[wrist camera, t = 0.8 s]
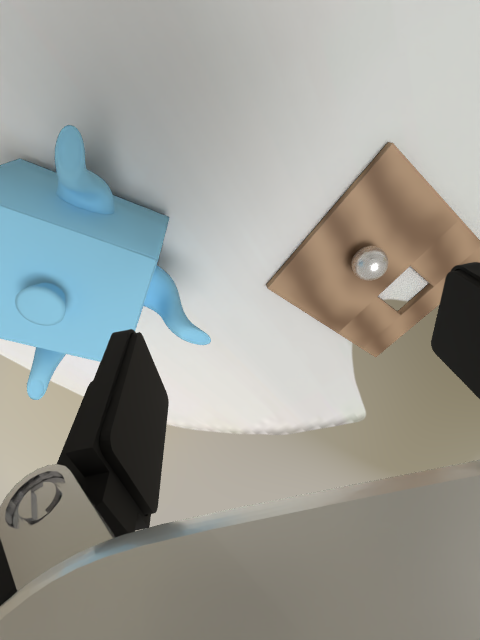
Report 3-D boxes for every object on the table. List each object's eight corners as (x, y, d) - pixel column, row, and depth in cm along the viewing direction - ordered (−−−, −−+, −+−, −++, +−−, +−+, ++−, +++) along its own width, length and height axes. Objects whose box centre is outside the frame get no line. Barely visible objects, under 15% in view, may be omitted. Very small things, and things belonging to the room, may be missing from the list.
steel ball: (364, 234, 37) (380, 247, 34) (385, 252, 39) (402, 266, 36) (339, 260, 39) (352, 275, 36) (360, 276, 41) (374, 292, 37)
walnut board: (388, 142, 33) (392, 143, 32) (489, 254, 42) (495, 257, 41) (266, 284, 41) (267, 288, 40) (372, 353, 50) (375, 357, 49)
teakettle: (-43, 190, 31) (-193, 248, 19) (123, 107, 29) (68, 115, 17) (80, 329, 42) (32, 421, 30) (209, 277, 40) (213, 355, 28)
